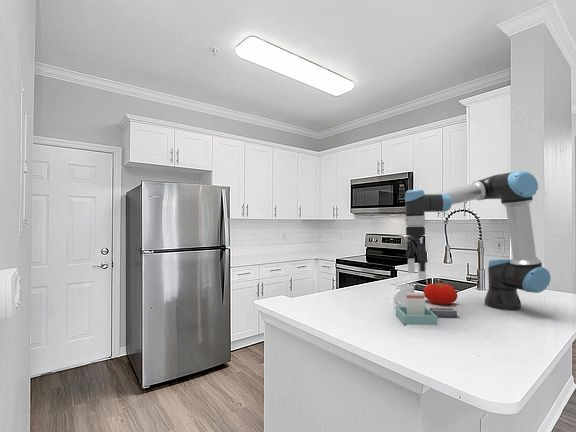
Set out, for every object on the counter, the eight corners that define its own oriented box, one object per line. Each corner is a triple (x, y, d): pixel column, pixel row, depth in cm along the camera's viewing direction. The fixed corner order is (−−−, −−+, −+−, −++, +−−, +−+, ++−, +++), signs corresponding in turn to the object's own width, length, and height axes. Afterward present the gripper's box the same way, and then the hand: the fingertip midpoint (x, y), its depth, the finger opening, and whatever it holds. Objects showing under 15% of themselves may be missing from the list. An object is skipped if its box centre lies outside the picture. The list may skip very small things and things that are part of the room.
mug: (400, 311, 150) (400, 289, 150) (387, 307, 157) (387, 286, 157) (417, 308, 156) (417, 286, 156) (404, 304, 163) (403, 283, 163)
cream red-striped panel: (423, 318, 138) (423, 293, 138) (424, 319, 136) (424, 293, 136) (406, 318, 138) (406, 292, 138) (407, 319, 137) (407, 293, 137)
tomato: (438, 298, 174) (438, 280, 174) (463, 306, 159) (463, 286, 159) (416, 300, 170) (416, 282, 170) (440, 309, 154) (440, 288, 154)
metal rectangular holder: (453, 314, 146) (453, 306, 146) (461, 319, 138) (461, 311, 138) (426, 313, 147) (426, 306, 147) (432, 319, 139) (432, 311, 139)
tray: (425, 316, 143) (425, 307, 143) (437, 326, 130) (437, 316, 130) (395, 315, 144) (395, 306, 144) (404, 325, 131) (404, 315, 131)
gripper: (398, 225, 150) (399, 271, 150) (415, 227, 125) (417, 282, 125) (414, 225, 149) (415, 270, 149) (435, 227, 125) (437, 281, 125)
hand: (416, 276), depth 137 cm, fingers open, 13 cm apart
